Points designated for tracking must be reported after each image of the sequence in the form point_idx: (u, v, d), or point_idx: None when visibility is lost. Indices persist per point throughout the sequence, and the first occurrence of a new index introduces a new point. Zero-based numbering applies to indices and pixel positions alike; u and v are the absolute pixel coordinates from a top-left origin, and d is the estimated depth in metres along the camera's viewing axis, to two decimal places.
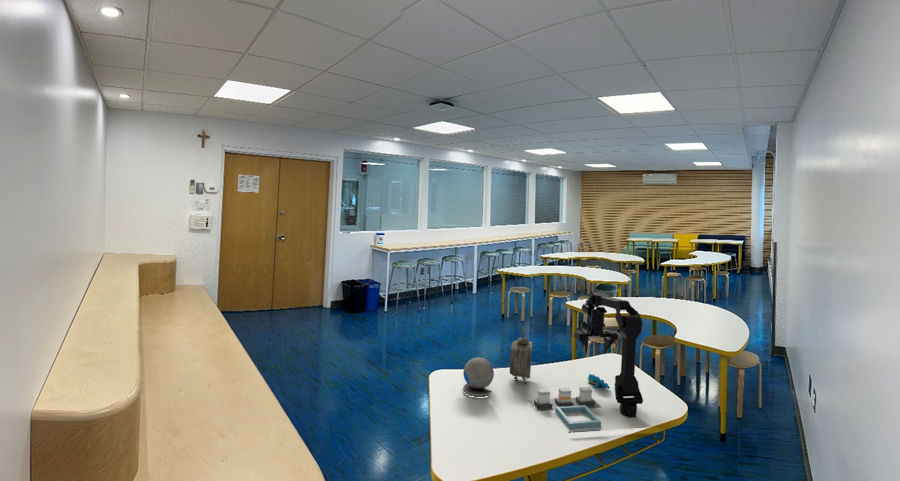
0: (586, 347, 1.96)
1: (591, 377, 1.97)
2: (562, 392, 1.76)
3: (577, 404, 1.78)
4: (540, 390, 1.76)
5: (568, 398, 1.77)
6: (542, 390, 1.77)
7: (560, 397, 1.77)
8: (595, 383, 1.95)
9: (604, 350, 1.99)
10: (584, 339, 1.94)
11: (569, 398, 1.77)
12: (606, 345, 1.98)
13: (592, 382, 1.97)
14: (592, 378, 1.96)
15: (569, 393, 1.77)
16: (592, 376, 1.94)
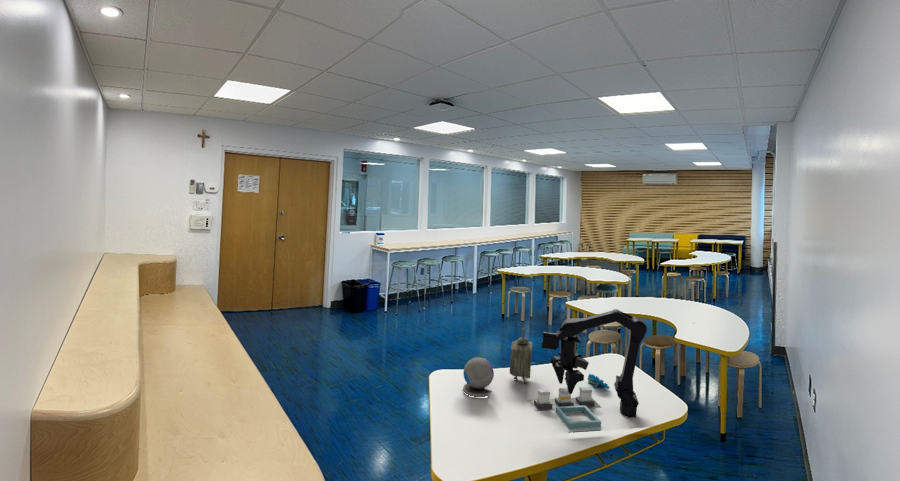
0: (556, 373, 1.82)
1: (591, 377, 1.97)
2: (562, 392, 1.76)
3: (577, 404, 1.78)
4: (540, 390, 1.76)
5: (568, 398, 1.77)
6: (542, 390, 1.77)
7: (560, 397, 1.77)
8: (595, 383, 1.95)
9: None
10: (552, 362, 1.83)
11: (569, 398, 1.77)
12: None
13: (592, 382, 1.97)
14: (592, 378, 1.96)
15: None
16: (592, 376, 1.94)
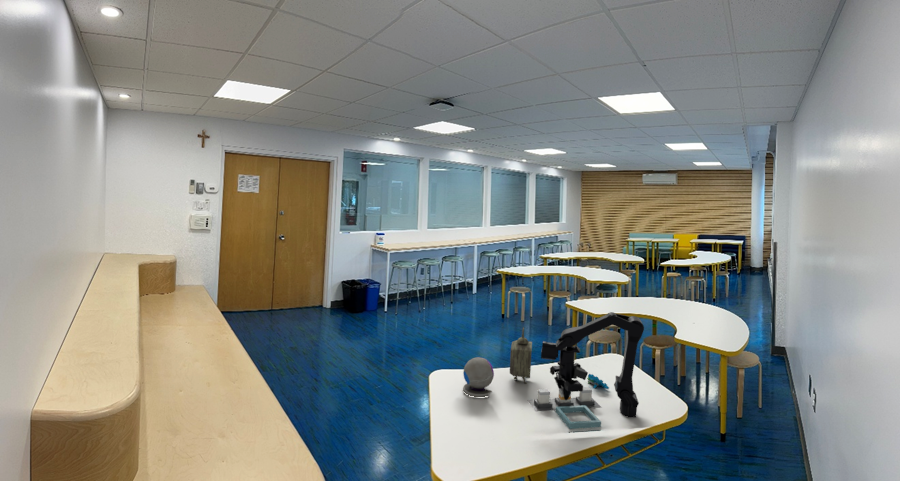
0: (558, 386, 1.80)
1: (590, 377, 1.97)
2: (562, 392, 1.76)
3: (577, 404, 1.78)
4: (540, 390, 1.76)
5: (568, 398, 1.77)
6: (542, 390, 1.77)
7: (560, 397, 1.77)
8: (594, 383, 1.95)
9: None
10: (551, 372, 1.84)
11: (569, 398, 1.77)
12: None
13: (591, 382, 1.97)
14: (591, 378, 1.96)
15: None
16: (591, 376, 1.94)
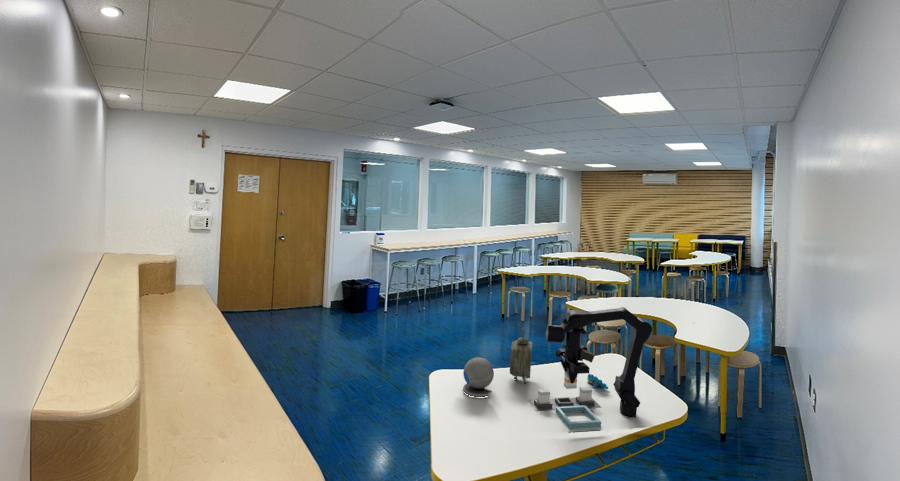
0: (564, 369, 1.75)
1: (590, 377, 1.97)
2: (568, 375, 1.71)
3: (577, 404, 1.78)
4: (540, 390, 1.76)
5: (574, 381, 1.72)
6: (542, 390, 1.77)
7: (566, 380, 1.72)
8: (594, 383, 1.95)
9: None
10: (557, 355, 1.79)
11: (575, 381, 1.72)
12: None
13: (591, 382, 1.97)
14: (591, 378, 1.96)
15: None
16: (591, 376, 1.94)
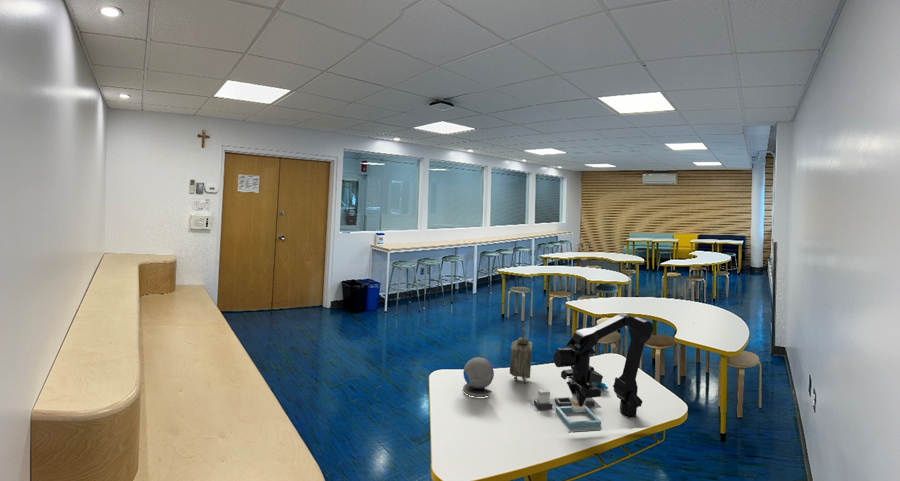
0: (571, 392, 1.67)
1: None
2: (576, 398, 1.64)
3: None
4: (540, 390, 1.76)
5: (583, 404, 1.65)
6: (542, 390, 1.77)
7: (574, 403, 1.65)
8: (593, 383, 1.95)
9: None
10: (563, 376, 1.71)
11: (583, 404, 1.65)
12: None
13: None
14: None
15: None
16: None
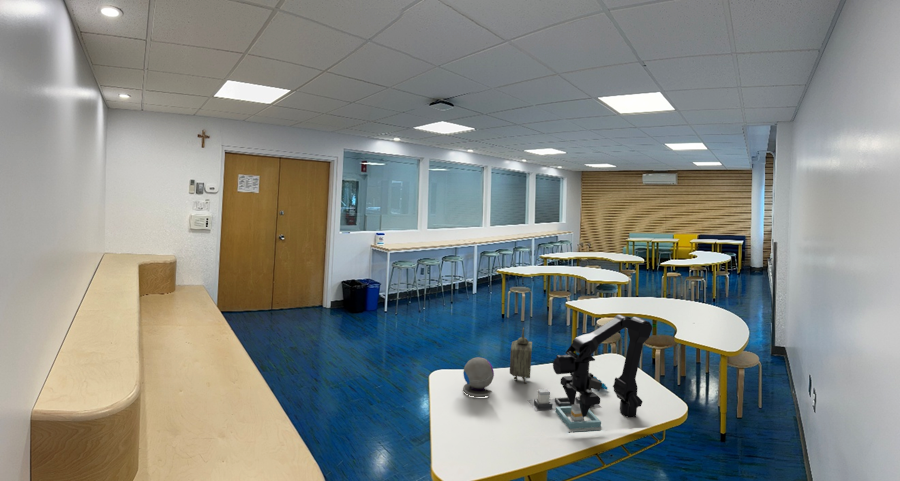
0: (567, 396, 1.70)
1: None
2: (576, 409, 1.65)
3: None
4: (540, 390, 1.76)
5: None
6: (542, 390, 1.77)
7: (573, 414, 1.66)
8: None
9: None
10: (562, 383, 1.72)
11: None
12: None
13: None
14: None
15: None
16: None
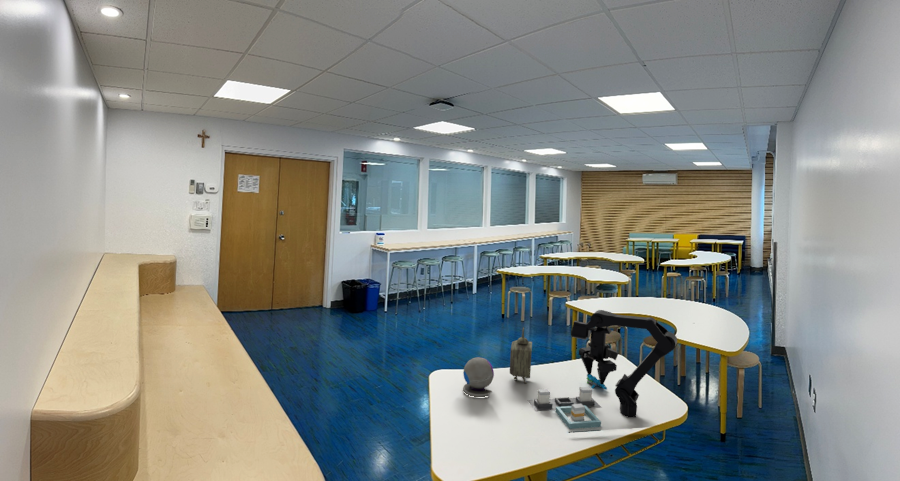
0: (584, 365, 1.83)
1: (589, 377, 1.97)
2: (576, 409, 1.65)
3: None
4: (540, 390, 1.76)
5: (582, 414, 1.66)
6: (542, 390, 1.77)
7: (573, 414, 1.66)
8: (593, 383, 1.95)
9: None
10: (580, 354, 1.84)
11: (583, 415, 1.66)
12: None
13: (590, 382, 1.97)
14: (590, 378, 1.96)
15: (583, 409, 1.65)
16: (589, 376, 1.94)
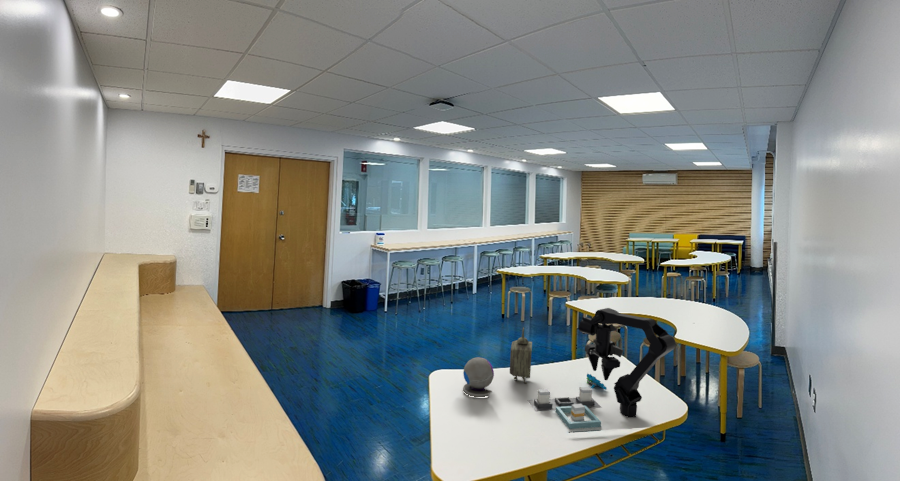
0: (590, 361, 1.86)
1: (589, 377, 1.97)
2: (576, 409, 1.65)
3: None
4: (540, 390, 1.76)
5: (582, 414, 1.66)
6: (542, 390, 1.77)
7: (573, 414, 1.66)
8: (592, 383, 1.95)
9: None
10: (586, 350, 1.88)
11: (583, 415, 1.66)
12: None
13: (590, 382, 1.97)
14: (590, 378, 1.96)
15: (583, 409, 1.65)
16: (589, 376, 1.94)
